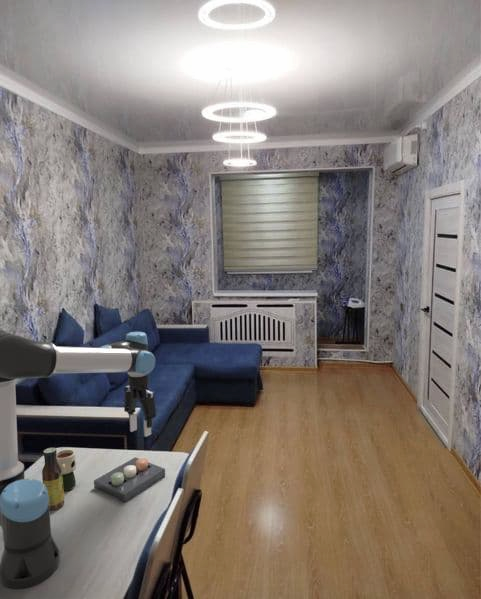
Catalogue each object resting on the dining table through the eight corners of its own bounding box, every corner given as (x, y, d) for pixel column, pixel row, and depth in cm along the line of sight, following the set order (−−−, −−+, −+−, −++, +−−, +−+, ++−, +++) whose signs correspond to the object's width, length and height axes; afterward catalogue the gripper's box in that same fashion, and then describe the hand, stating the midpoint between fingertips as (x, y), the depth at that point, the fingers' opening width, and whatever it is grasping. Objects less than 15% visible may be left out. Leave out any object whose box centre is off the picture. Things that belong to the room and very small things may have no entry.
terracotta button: (142, 474, 167) (141, 465, 167) (133, 470, 170) (133, 462, 169) (150, 468, 171) (150, 460, 170) (142, 465, 173) (142, 457, 173)
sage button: (117, 489, 157) (116, 480, 157) (108, 485, 160) (108, 476, 159) (126, 483, 161) (126, 474, 160) (118, 480, 163) (117, 471, 163)
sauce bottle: (68, 505, 152) (64, 450, 149) (49, 513, 147) (45, 457, 144) (59, 497, 156) (55, 444, 153) (41, 505, 152) (37, 450, 149)
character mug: (75, 493, 158) (73, 459, 156) (54, 497, 156) (51, 462, 154) (78, 477, 169) (76, 445, 167) (58, 480, 167) (55, 448, 165)
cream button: (130, 481, 162) (129, 472, 162) (121, 478, 165) (121, 469, 164) (138, 476, 166) (138, 467, 165) (130, 472, 168) (130, 463, 168)
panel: (124, 502, 153) (124, 494, 152) (94, 488, 162) (93, 480, 161) (165, 476, 169) (164, 468, 169) (135, 464, 178) (135, 457, 178)
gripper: (165, 375, 162) (167, 435, 166) (127, 367, 173) (129, 423, 176) (150, 381, 156) (152, 443, 159) (112, 372, 167) (115, 430, 170)
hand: (140, 432), depth 168 cm, fingers open, 7 cm apart
